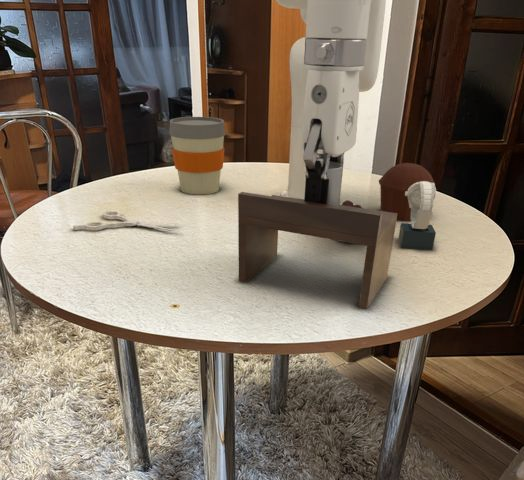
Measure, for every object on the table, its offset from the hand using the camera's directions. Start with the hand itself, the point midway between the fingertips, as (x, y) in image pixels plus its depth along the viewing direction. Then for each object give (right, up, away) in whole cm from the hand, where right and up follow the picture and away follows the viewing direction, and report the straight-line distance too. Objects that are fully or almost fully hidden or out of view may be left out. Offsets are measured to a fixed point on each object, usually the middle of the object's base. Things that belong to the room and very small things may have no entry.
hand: (322, 200), depth 73 cm
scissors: (-33, +2, +25) cm, 41 cm away
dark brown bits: (+7, -2, +20) cm, 22 cm away
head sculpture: (+19, -2, +20) cm, 27 cm away
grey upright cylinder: (0, -1, +1) cm, 1 cm away
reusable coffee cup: (-23, +17, +48) cm, 56 cm away
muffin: (+21, +7, +35) cm, 41 cm away
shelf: (-1, -11, +6) cm, 12 cm away
